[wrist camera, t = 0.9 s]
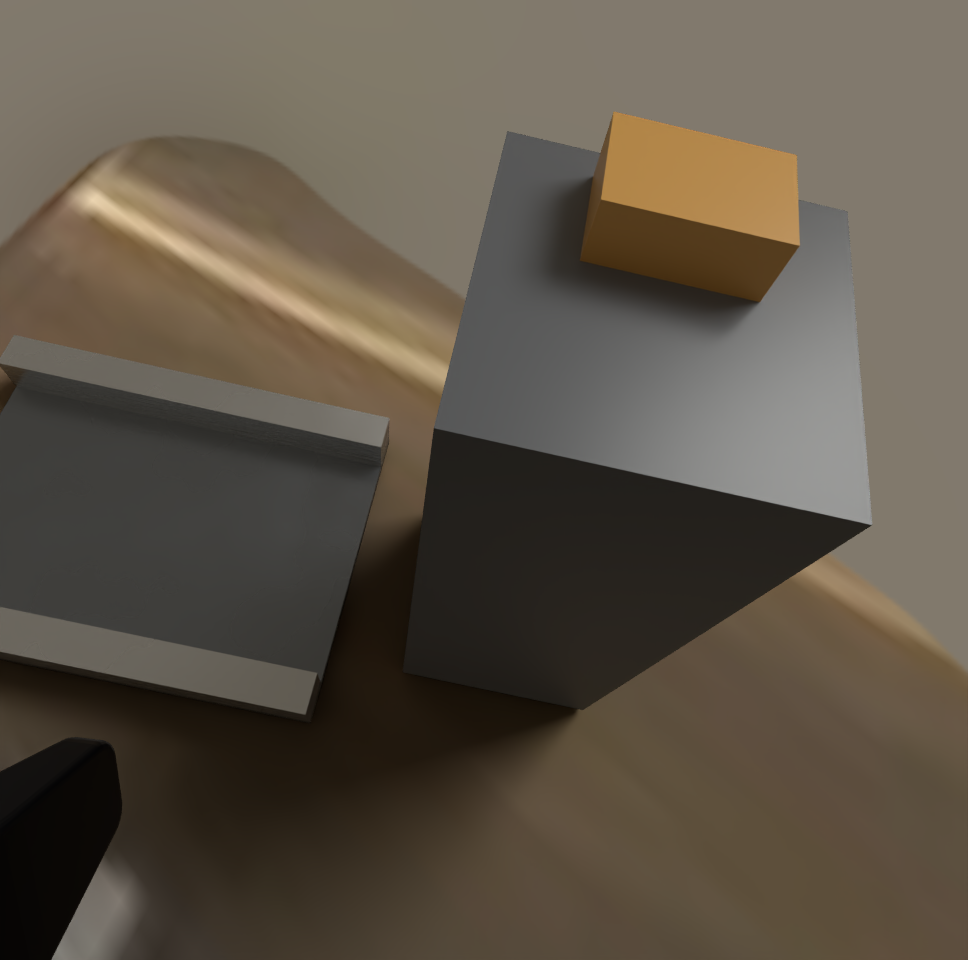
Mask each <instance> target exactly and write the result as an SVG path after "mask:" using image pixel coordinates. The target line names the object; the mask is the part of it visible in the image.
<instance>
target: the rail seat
mask: <svg viewBox="0 0 968 960" xmlns="http://www.w3.org/2000/svg"><path fill="white" fill-rule="evenodd" d="M0 367H1V368H2V369H3V371H4V372H5V373H6V374H7V376H8V377H9V378H10V379H11V380H12V382H13V383H14V384H15V385H16V388H15V390H14V392H13V393H12V395H11V397H10V398H9V400H8V402H7V404H6V405H5V407H4V409H3V410H2V412H1V414H0V660H5V661H10V662H15V663H19V664H24V665H29V666H34V667H39V668H44V669H49V670H53V671H58V672H63V673H68V674H73V675H78V676H82V677H87V678H92V679H97V680H102V681H107V682H112V683H116V684H121V685H126V686H131V687H136V688H141V689H145V690H150V691H155V692H160V693H165V694H170V695H175V696H179V697H184V698H189V699H194V700H199V701H204V702H209V703H213V704H218V705H223V706H228V707H233V708H238V709H242V710H247V711H252V712H257V713H262V714H267V715H272V716H276V717H281V718H286V719H291V720H296V721H301V722H305V723H310V724H311V721H312V718H313V714H314V710H315V707H316V703H317V700H318V696H319V692H320V689H321V685H322V682H323V678H324V674H325V671H326V667H327V664H328V660H329V657H330V653H331V649H332V646H333V642H334V639H335V635H336V631H337V628H338V624H339V621H340V617H341V613H342V610H343V606H344V603H345V599H346V595H347V592H348V588H349V585H350V581H351V577H352V574H353V570H354V567H355V563H356V560H357V556H358V552H359V549H360V545H361V542H362V538H363V534H364V531H365V527H366V524H367V520H368V516H369V513H370V509H371V506H372V502H373V498H374V495H375V491H376V488H377V484H378V480H379V477H380V473H381V470H382V466H383V463H384V459H385V455H386V452H387V448H388V445H389V418H386V417H382V416H377V415H373V414H368V413H364V412H359V411H355V410H350V409H346V408H341V407H337V406H332V405H328V404H323V403H319V402H314V401H310V400H305V399H301V398H296V397H292V396H287V395H283V394H278V393H274V392H269V391H264V390H260V389H255V388H251V387H246V386H242V385H237V384H233V383H228V382H224V381H219V380H215V379H210V378H206V377H201V376H197V375H192V374H188V373H183V372H179V371H174V370H170V369H165V368H161V367H156V366H152V365H147V364H143V363H138V362H133V361H129V360H124V359H120V358H115V357H111V356H106V355H102V354H97V353H93V352H88V351H84V350H79V349H75V348H70V347H66V346H61V345H57V344H52V343H48V342H43V341H39V340H34V339H30V338H25V337H21V336H16V335H14V336H13V338H12V339H11V341H10V343H9V344H8V346H7V348H6V349H5V351H4V353H3V354H2V356H1V357H0Z"/></svg>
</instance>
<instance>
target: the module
mask: <svg viewBox="0 0 968 960" xmlns="http://www.w3.org/2000/svg"><path fill="white" fill-rule="evenodd" d="M797 180H798V178H797V155H794V154H790V153H786V152H782V151H778V150H773V149H769V148H764V147H760V146H757V145H752V144H748V143H744V142H739V141H735V140H731V139H727V138H723V137H719V136H714V135H710V134H705V133H702V132H697V131H693V130H689V129H685V128H681V127H677V126H672V125H667V124H663V123H660V122H656V121H651V120H647V119H643V118H639V117H634V116H630V115H626V114H622V113H618V112H613V116H612V119H611V122H610V125H609V128H608V131H607V134H606V138H605V141H604V144H603V147H602V150H601V153H598V152H594V151H589V150H585V149H581V148H577V147H572V146H568V145H564V144H560V143H555V142H551V141H547V140H543V139H538V138H534V137H530V136H526V135H522V134H517V133H513V132H509V131H508V132H507V135H506V139H505V143H504V147H503V151H502V155H501V159H500V163H499V167H498V171H497V175H496V180H495V184H494V187H493V192H492V196H491V200H490V204H489V208H488V212H487V216H486V220H485V224H484V228H483V232H482V236H481V240H480V244H479V248H478V252H477V256H476V260H475V264H474V268H473V272H472V277H471V280H470V284H469V288H468V293H467V297H466V301H465V305H464V309H463V313H462V317H461V321H460V325H459V329H458V333H457V337H456V341H455V345H454V349H453V353H452V357H451V361H450V365H449V369H448V373H447V377H446V381H445V385H444V390H443V394H442V398H441V402H440V406H439V410H438V414H437V418H436V422H435V426H434V432H433V439H432V447H431V455H430V463H429V471H428V478H427V486H426V494H425V502H424V509H423V517H422V525H421V533H420V540H419V548H418V556H417V564H416V572H415V579H414V587H413V595H412V603H411V610H410V618H409V626H408V634H407V642H406V649H405V657H404V665H403V672H404V673H409V674H414V675H418V676H423V677H428V678H433V679H437V680H442V681H447V682H452V683H457V684H461V685H466V686H471V687H476V688H480V689H485V690H490V691H495V692H500V693H504V694H509V695H514V696H519V697H523V698H528V699H533V700H538V701H543V702H547V703H552V704H557V705H562V706H566V707H571V708H576V709H581V710H584V709H585V708H587V707H588V706H590V705H591V704H593V703H595V702H596V701H598V700H599V699H601V698H602V697H604V696H606V695H607V694H609V693H610V692H612V691H613V690H615V689H617V688H618V687H620V686H621V685H623V684H624V683H626V682H627V681H629V680H631V679H632V678H634V677H635V676H637V675H638V674H640V673H642V672H643V671H645V670H646V669H648V668H649V667H651V666H652V665H654V664H656V663H657V662H659V661H660V660H662V659H663V658H665V657H667V656H668V655H670V654H671V653H673V652H674V651H676V650H678V649H679V648H681V647H682V646H684V645H685V644H687V643H688V642H690V641H692V640H693V639H695V638H696V637H698V636H699V635H701V634H703V633H704V632H706V631H707V630H709V629H710V628H712V627H713V626H715V625H717V624H718V623H720V622H721V621H723V620H724V619H726V618H728V617H729V616H731V615H732V614H734V613H735V612H737V611H739V610H740V609H742V608H743V607H745V606H746V605H748V604H749V603H751V602H753V601H754V600H756V599H757V598H759V597H760V596H762V595H764V594H765V593H767V592H768V591H770V590H771V589H773V588H775V587H776V586H778V585H779V584H781V583H782V582H784V581H785V580H787V579H789V578H790V577H792V576H793V575H795V574H796V573H798V572H800V571H801V570H803V569H804V568H806V567H807V566H809V565H810V564H812V563H814V562H815V561H817V560H818V559H820V558H821V557H823V556H825V555H826V554H828V553H829V552H831V551H832V550H834V549H836V548H837V547H838V546H840V545H842V544H843V543H845V542H846V541H848V540H849V539H851V538H852V537H854V536H856V535H857V534H859V533H860V532H862V531H864V530H865V529H867V528H868V527H870V526H871V525H872V518H871V517H872V516H871V505H870V491H869V479H868V465H867V453H866V441H865V427H864V415H863V402H862V391H861V390H862V389H861V379H860V378H861V377H860V364H859V351H858V339H857V326H856V313H855V301H854V288H853V276H852V263H851V250H850V240H849V239H850V238H849V226H848V212H847V211H844V210H840V209H835V208H831V207H827V206H822V205H818V204H814V203H810V202H806V201H801V200H798V181H797Z"/></svg>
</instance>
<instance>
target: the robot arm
mask: <svg viewBox="0 0 968 960" xmlns="http://www.w3.org/2000/svg"><path fill="white" fill-rule="evenodd" d="M121 813H122V798H121V791H120V784H119V777H118V770H117V763H116V756H115V751H114V748H113V747H112V745H111V744H110V743H108V742H106V741H103V740H95V739H87V738H78V737H74V738H67V739H65V740H62V741H60V742H58V743H56V744H54V745H52V746H50V747H48V748H46V749H44V750H42V751H40V752H38V753H36V754H34V755H32V756H30V757H28V758H26V759H24V760H22V761H20V762H18V763H16V764H14V765H12V766H10V767H8V768H7V769H5V770H3V771H1V772H0V960H51V959H52V957H53V955H54V953H55V951H56V949H57V947H58V945H59V943H60V941H61V939H62V937H63V935H64V933H65V931H66V929H67V927H68V926H69V924H70V922H71V920H72V918H73V916H74V914H75V912H76V910H77V908H78V906H79V904H80V902H81V900H82V898H83V896H84V894H85V892H86V890H87V888H88V886H89V884H90V882H91V880H92V878H93V876H94V874H95V872H96V870H97V868H98V866H99V864H100V862H101V860H102V858H103V856H104V854H105V852H106V850H107V848H108V846H109V844H110V842H111V840H112V838H113V836H114V834H115V832H116V830H117V828H118V825H119V822H120V818H121Z"/></svg>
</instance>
